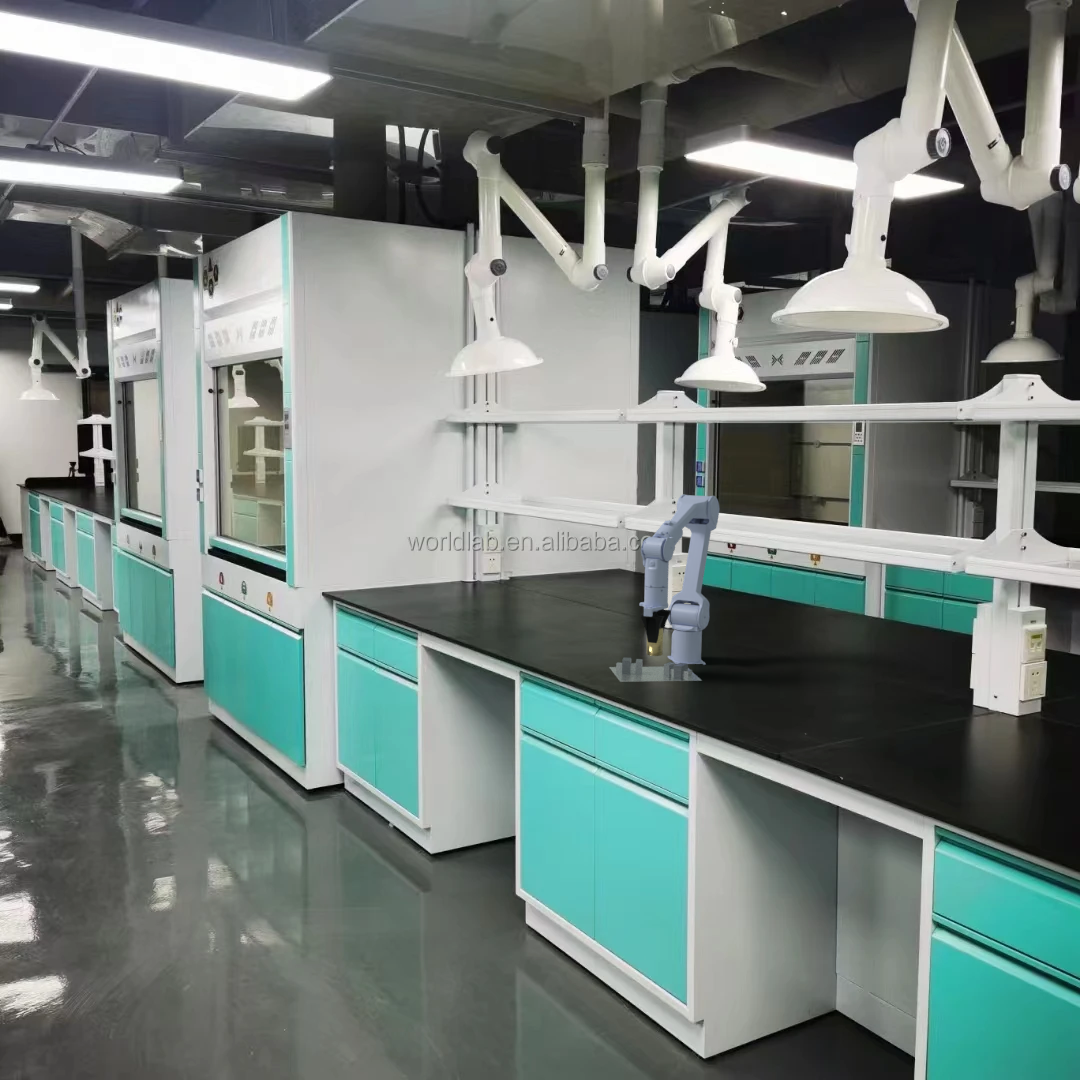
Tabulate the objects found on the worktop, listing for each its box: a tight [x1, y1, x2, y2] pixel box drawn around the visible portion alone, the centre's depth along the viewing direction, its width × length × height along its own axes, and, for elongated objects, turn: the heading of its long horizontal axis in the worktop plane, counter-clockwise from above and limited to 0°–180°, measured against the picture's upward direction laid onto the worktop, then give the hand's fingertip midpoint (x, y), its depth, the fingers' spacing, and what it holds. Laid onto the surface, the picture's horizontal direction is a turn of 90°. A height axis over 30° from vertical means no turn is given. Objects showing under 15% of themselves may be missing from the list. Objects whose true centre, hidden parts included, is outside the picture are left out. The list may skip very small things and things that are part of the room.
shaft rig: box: [608, 657, 703, 683], centre depth 252 cm, size 15×20×4 cm
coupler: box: [646, 627, 664, 657], centre depth 251 cm, size 4×4×7 cm
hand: (655, 640), depth 251 cm, fingers closed on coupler, 4 cm apart
